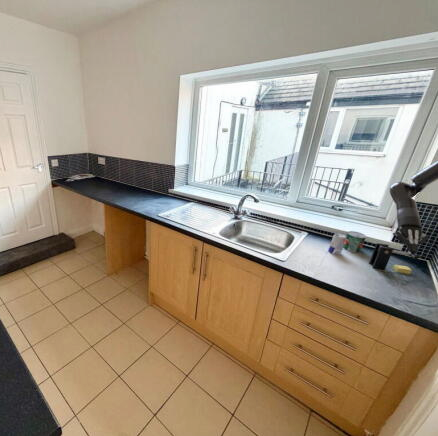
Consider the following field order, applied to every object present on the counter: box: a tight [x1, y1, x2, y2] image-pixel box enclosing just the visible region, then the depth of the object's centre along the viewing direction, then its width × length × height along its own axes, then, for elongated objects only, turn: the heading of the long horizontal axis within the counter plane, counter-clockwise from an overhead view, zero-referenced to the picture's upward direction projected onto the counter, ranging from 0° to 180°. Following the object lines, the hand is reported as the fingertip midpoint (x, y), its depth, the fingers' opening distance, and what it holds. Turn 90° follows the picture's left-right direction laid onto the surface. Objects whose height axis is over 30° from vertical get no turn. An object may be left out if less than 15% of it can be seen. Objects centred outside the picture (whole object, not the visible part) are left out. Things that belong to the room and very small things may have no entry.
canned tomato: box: [342, 230, 367, 253], centre depth 133 cm, size 8×8×11 cm
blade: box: [378, 246, 419, 261], centre depth 113 cm, size 13×5×2 cm, turn 69°
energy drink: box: [327, 232, 347, 256], centre depth 129 cm, size 5×5×12 cm
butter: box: [392, 264, 413, 275], centre depth 115 cm, size 5×4×3 cm
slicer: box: [368, 242, 394, 274], centre depth 116 cm, size 10×8×13 cm
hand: (413, 252), depth 111 cm, fingers closed
